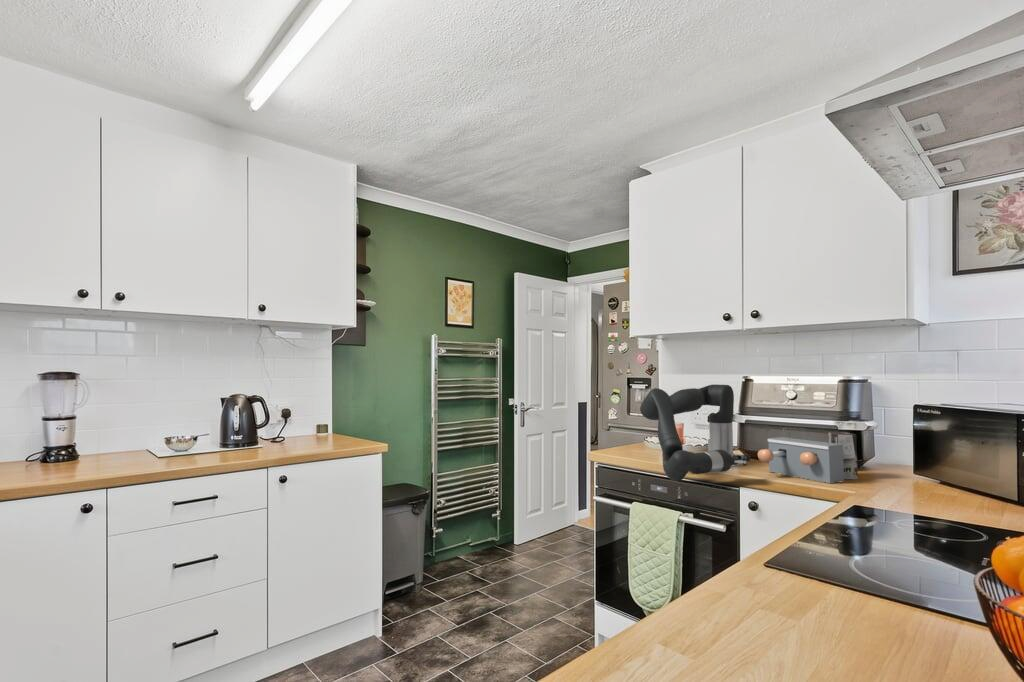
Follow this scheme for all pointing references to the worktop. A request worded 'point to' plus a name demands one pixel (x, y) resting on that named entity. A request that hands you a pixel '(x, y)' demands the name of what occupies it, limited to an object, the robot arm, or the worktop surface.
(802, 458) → the knob
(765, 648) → the worktop surface
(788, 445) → the control box
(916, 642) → the worktop surface
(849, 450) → the coffee box
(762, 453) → the knob
